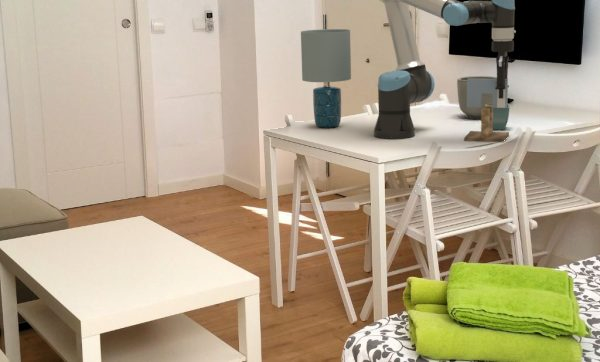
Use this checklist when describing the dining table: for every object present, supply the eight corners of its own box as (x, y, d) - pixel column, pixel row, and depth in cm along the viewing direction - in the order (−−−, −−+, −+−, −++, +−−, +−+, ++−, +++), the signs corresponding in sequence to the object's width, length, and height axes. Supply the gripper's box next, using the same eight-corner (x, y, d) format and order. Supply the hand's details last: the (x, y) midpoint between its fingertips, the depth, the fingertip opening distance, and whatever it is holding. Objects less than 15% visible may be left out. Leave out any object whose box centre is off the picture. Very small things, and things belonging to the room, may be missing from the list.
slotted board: (466, 107, 320) (467, 79, 318) (467, 106, 323) (468, 78, 320) (506, 107, 316) (507, 79, 313) (507, 106, 318) (507, 78, 316)
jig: (464, 140, 318) (464, 109, 315) (470, 134, 330) (470, 104, 327) (504, 142, 313) (505, 110, 311) (508, 135, 325) (509, 104, 323)
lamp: (317, 121, 369) (314, 29, 361) (359, 123, 360) (358, 29, 352) (295, 129, 353) (291, 32, 344) (339, 131, 344) (336, 32, 335)
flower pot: (509, 131, 334) (509, 107, 332) (485, 130, 336) (485, 107, 334) (508, 126, 342) (509, 103, 340) (485, 126, 344) (485, 103, 342)
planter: (498, 121, 355) (499, 81, 352) (454, 120, 360) (454, 81, 356) (501, 114, 371) (501, 75, 368) (459, 113, 376) (459, 75, 372)
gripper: (511, 41, 304) (509, 110, 309) (516, 38, 318) (515, 103, 323) (488, 41, 306) (487, 109, 311) (495, 38, 320) (494, 103, 326)
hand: (501, 106), depth 317 cm, fingers closed on slotted board, 2 cm apart
